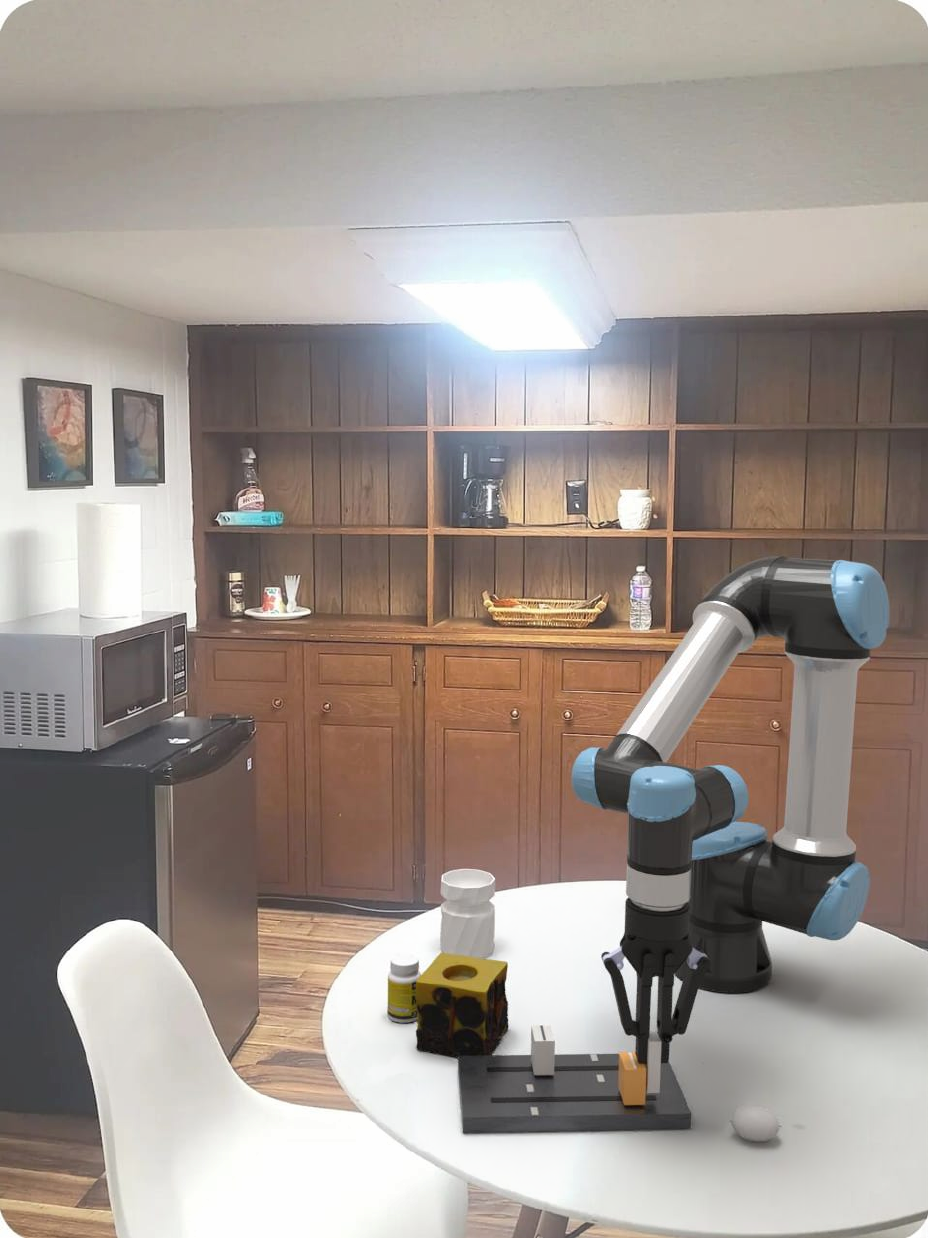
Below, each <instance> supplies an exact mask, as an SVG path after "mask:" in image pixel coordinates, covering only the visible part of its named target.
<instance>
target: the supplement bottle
mask: <svg viewBox="0 0 928 1238" xmlns="http://www.w3.org/2000/svg"><path fill="white" fill-rule="evenodd" d="M419 962H420V961H419V957H418V956H416V955H414V954H410V953H401V954H395V955H393V956H392V957H391V958H390V970H389V972H388V974H387V1017H388V1018H389V1019H390V1020H391V1021H392V1022H396V1023H403V1024H406V1023H412V1022H416V1021H417V1020H418V1019H417V1013H418V1010H417V1005H416V980H417V979H418V978H419V977H420V976H421V975H422V973H421V971H420V969H419V968H420V963H419Z"/></svg>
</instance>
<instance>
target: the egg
mask: <svg viewBox="0 0 928 1238" xmlns="http://www.w3.org/2000/svg"><path fill="white" fill-rule="evenodd" d="M728 1122H730V1123H731V1127H732V1129H733V1130H734V1132H735V1133H736V1134H738V1136H739V1137H741V1138H743V1139H744V1140H747V1141H750V1142H756V1143H757V1142H758V1143H760V1142H767V1141H769V1140H771V1139H773V1138H774V1137H775V1136H777V1134H778V1133H779V1130H780V1128H781V1127H782V1125H780V1122H779V1119H778V1118H777V1116H776V1115H775V1114H774V1113H773V1112H772V1111H770V1110H769V1109H767V1108H764V1107H762V1106H758V1105H757V1106H756V1105H746V1106H743V1107H740V1108H739V1109H736V1110H735V1111H734V1113H733V1114H732V1116H731V1119H729V1120H728Z"/></svg>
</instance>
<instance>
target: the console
mask: <svg viewBox="0 0 928 1238" xmlns="http://www.w3.org/2000/svg"><path fill="white" fill-rule="evenodd" d="M457 1074H458V1086H459V1087H458V1088H459V1101H460V1114H461V1126H462V1127H461V1128H462V1134H497V1133H498V1134H499V1133H503V1134H504V1133H505V1134H506V1133H508V1134H509V1133H551V1132H552V1133H554V1132H555V1133H559V1132H560V1133H561V1132H566V1133H567V1132H613V1131H616V1132H618V1131H623V1132H624V1131H625V1132H626V1131H666V1130H667V1131H668V1130H669V1131H670V1130H671V1131H673V1130H678V1131H679V1130H680V1131H682V1130H692V1118H693V1117H692V1111H691V1109H690V1106H689V1104H688V1102H687V1099H686V1097H685V1095H684V1092H683V1091H682V1088H681V1085H680V1083H679V1081H678V1079H677V1077H676V1074H675V1072H674V1069H673V1067H672V1065H671V1062H670V1059H669V1060H668V1063H661V1068H660V1093H647V1091H645V1105H624V1103H623V1100H622V1097H621V1094H620V1091H619V1088H618V1076H619V1053H575V1054H574V1053H573V1054H568V1053H567V1054H566V1053H565V1054H555V1058H554V1075H534V1072H533V1067H532V1062H531V1054H505V1055H503V1054H502V1055H500V1054H497V1055H496V1054H495V1055H492V1054H491V1055H487V1056H458V1057H457Z"/></svg>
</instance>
